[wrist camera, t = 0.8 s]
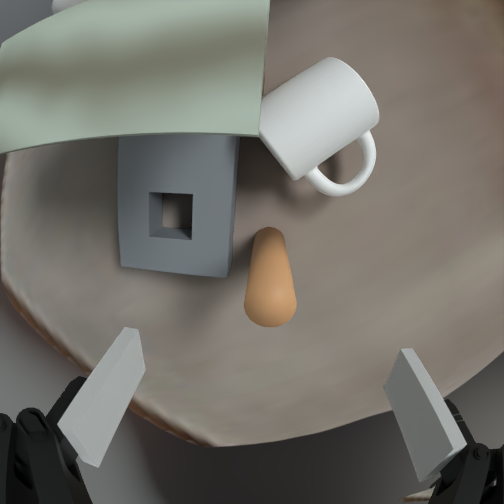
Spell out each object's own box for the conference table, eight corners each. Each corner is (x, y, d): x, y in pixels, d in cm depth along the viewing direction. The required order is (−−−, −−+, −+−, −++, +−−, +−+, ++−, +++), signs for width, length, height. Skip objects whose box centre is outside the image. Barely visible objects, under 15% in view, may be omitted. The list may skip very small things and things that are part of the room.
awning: (122, 83, 26) (2, 43, 8) (269, 78, 25) (271, -26, 7) (116, 147, 28) (-16, 157, 10) (263, 149, 28) (257, 135, 10)
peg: (255, 225, 31) (245, 279, 18) (286, 228, 31) (300, 284, 18) (252, 255, 32) (242, 324, 19) (282, 257, 32) (292, 328, 19)
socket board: (138, 104, 27) (122, 99, 23) (243, 102, 27) (239, 94, 23) (135, 254, 33) (121, 266, 29) (231, 263, 32) (227, 278, 29)
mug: (244, 119, 27) (236, 106, 20) (318, 70, 25) (334, 44, 17) (312, 208, 30) (327, 226, 22) (382, 158, 28) (416, 161, 20)
